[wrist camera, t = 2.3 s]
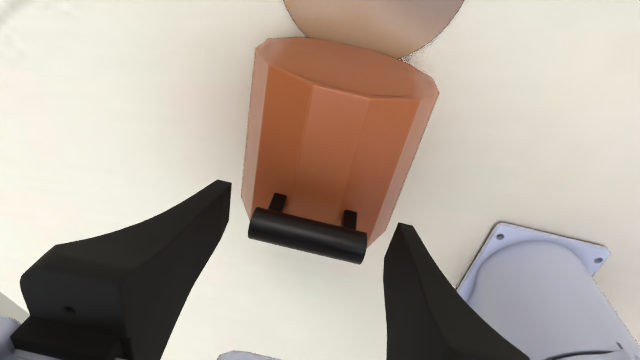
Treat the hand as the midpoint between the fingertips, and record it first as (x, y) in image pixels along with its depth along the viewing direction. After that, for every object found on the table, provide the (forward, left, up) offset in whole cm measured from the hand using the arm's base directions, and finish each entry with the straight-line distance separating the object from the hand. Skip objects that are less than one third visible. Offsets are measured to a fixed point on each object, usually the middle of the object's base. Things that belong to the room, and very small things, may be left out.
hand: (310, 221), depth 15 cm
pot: (+6, 0, -4) cm, 7 cm away
